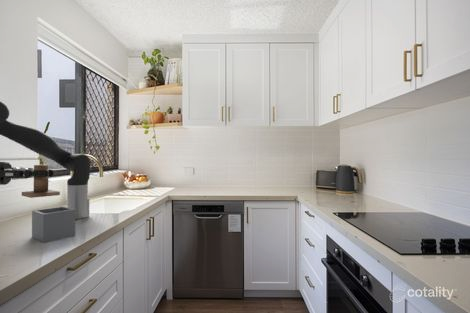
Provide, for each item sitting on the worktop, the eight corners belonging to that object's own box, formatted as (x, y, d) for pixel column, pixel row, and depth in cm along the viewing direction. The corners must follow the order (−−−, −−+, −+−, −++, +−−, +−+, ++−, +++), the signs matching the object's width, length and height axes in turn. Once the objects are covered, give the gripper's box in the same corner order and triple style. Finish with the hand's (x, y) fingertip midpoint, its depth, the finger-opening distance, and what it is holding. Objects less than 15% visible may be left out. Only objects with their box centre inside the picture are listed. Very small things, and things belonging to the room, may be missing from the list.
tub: (62, 230, 112) (63, 206, 112) (75, 235, 105) (75, 209, 105) (31, 237, 103) (32, 210, 103) (43, 242, 96) (43, 214, 96)
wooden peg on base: (49, 193, 94) (50, 164, 94) (59, 195, 89) (60, 165, 90) (21, 195, 87) (22, 165, 87) (30, 197, 83) (31, 165, 83)
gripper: (-25, 162, 78) (42, 162, 82) (2, 161, 91) (59, 161, 96) (-26, 187, 78) (42, 186, 82) (2, 182, 91) (58, 182, 96)
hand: (50, 173), depth 89 cm, fingers closed on wooden peg on base, 4 cm apart
